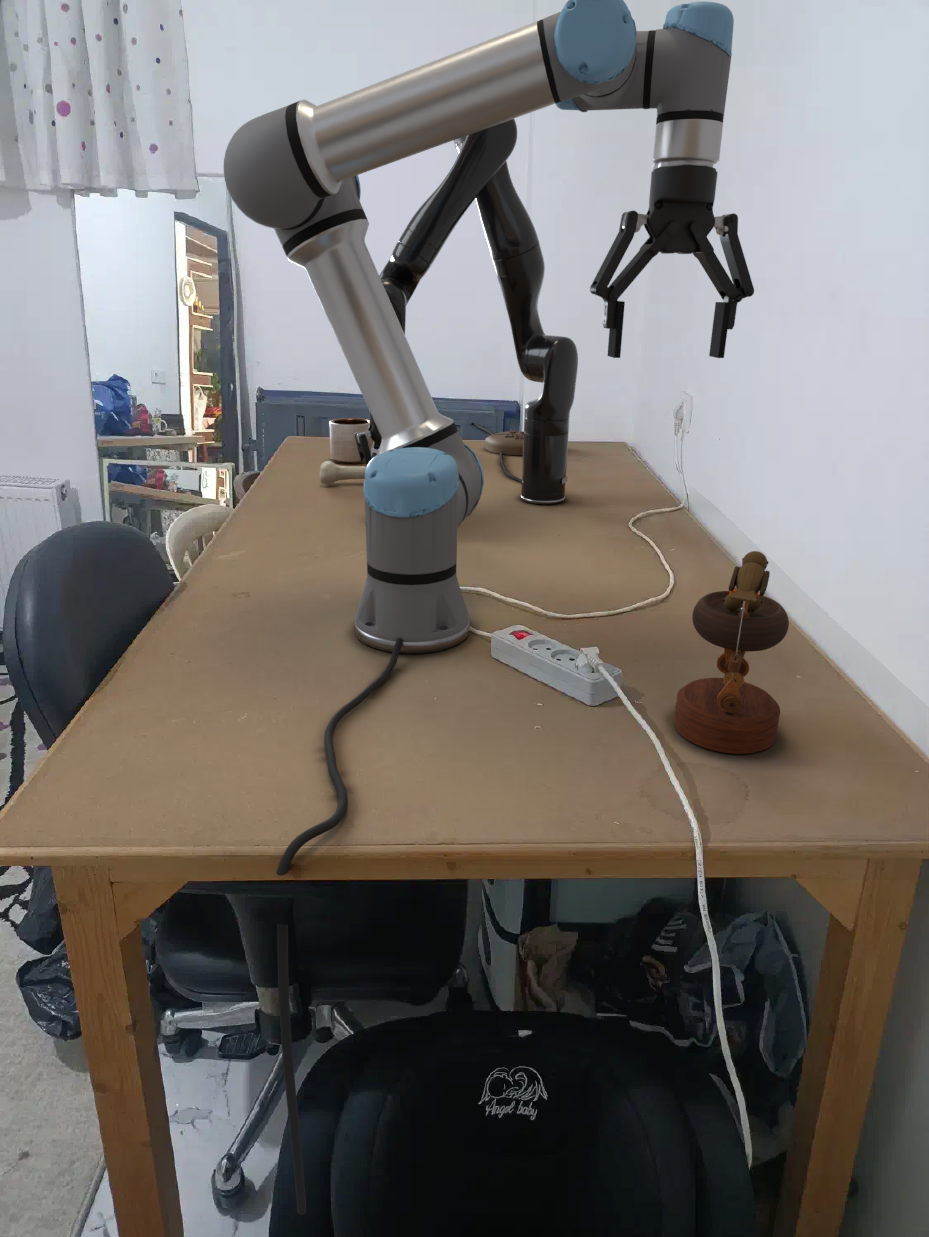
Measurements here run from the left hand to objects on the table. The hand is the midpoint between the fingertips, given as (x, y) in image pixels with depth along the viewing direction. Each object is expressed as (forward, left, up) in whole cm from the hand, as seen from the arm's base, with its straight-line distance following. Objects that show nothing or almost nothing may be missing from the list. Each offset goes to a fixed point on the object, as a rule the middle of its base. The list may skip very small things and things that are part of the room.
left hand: (665, 357), depth 106 cm
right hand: (+47, +44, -29) cm, 71 cm away
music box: (-31, -6, -35) cm, 47 cm away
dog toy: (+72, +55, -35) cm, 97 cm away
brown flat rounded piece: (+112, +20, -35) cm, 119 cm away
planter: (+96, +63, -35) cm, 121 cm away
